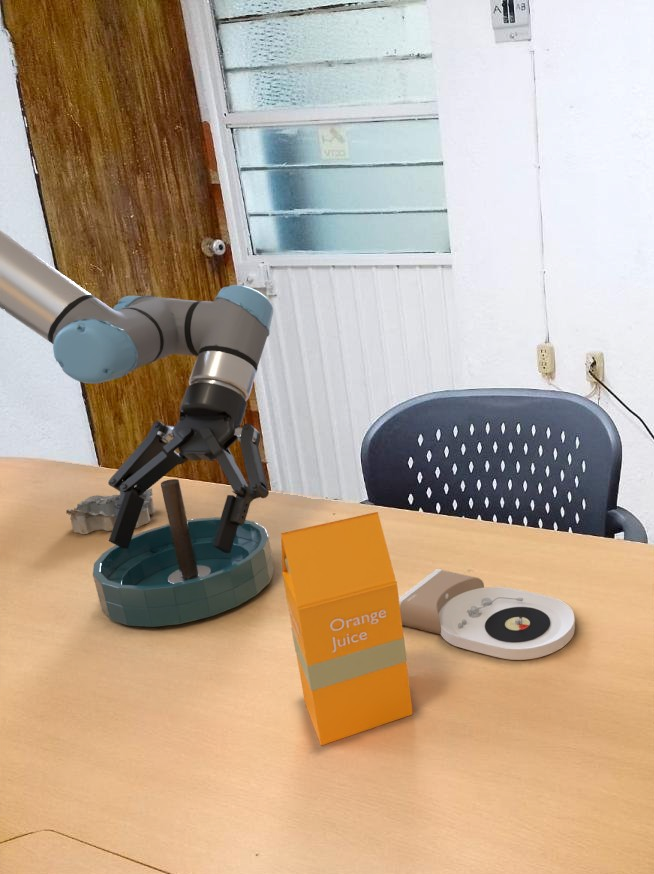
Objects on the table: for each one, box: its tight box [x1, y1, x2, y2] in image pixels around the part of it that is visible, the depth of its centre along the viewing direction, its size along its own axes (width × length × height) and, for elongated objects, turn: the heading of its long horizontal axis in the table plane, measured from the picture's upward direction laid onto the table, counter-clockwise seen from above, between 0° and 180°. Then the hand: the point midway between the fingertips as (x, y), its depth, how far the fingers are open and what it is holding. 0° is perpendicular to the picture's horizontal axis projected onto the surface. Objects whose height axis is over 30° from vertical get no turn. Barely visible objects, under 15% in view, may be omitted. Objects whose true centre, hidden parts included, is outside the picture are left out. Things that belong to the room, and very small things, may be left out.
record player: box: [399, 568, 576, 661], centre depth 95 cm, size 12×3×20 cm
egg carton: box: [65, 487, 156, 535], centre depth 124 cm, size 11×8×4 cm
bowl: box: [92, 516, 275, 628], centre depth 104 cm, size 20×20×6 cm
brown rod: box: [160, 478, 212, 584], centre depth 102 cm, size 5×5×14 cm
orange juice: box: [280, 511, 414, 746], centre depth 78 cm, size 8×9×20 cm
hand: (169, 547), depth 100 cm, fingers open, 13 cm apart
